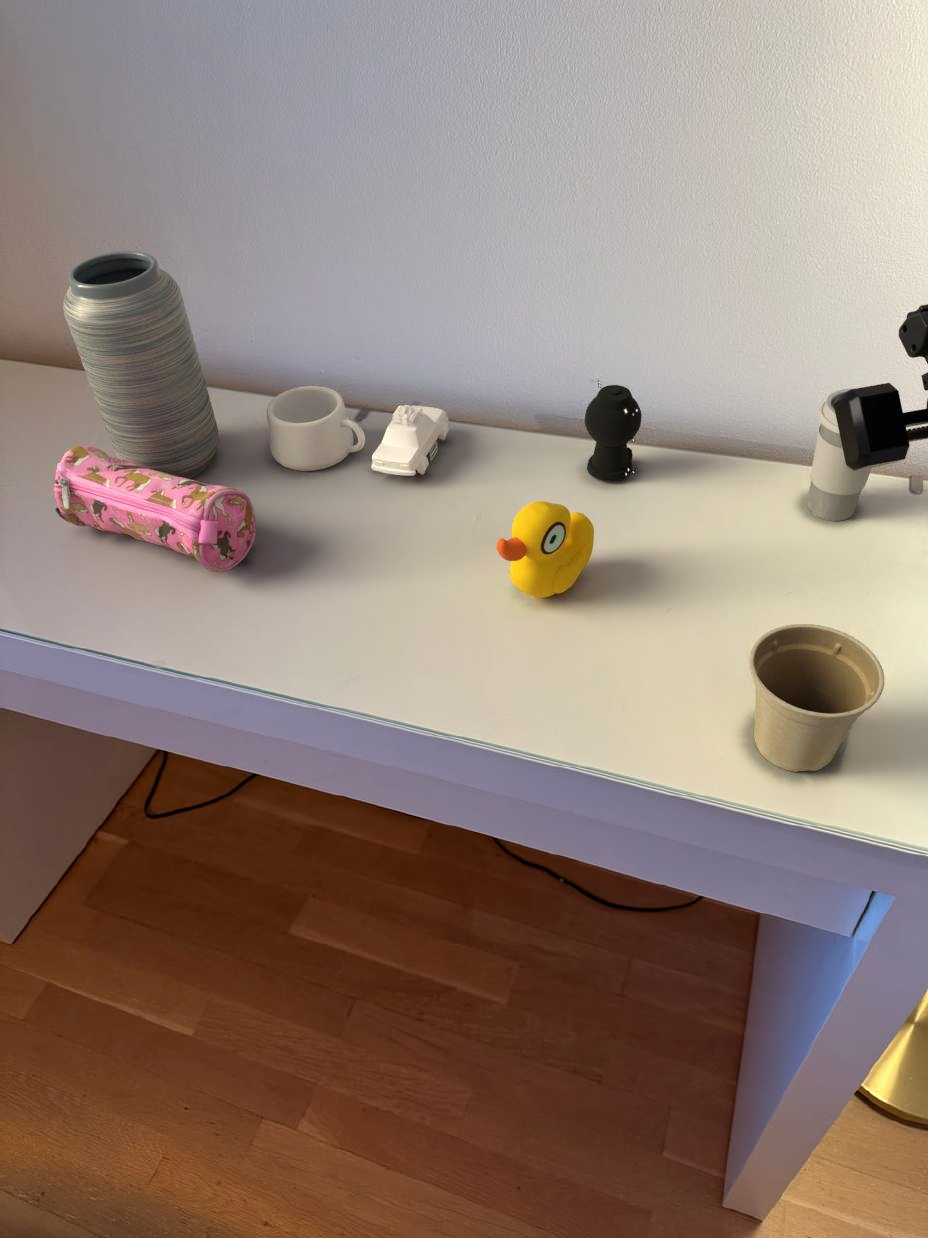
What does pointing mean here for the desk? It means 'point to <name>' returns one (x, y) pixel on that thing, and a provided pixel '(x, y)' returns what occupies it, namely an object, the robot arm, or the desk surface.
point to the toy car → (410, 440)
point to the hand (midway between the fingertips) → (892, 436)
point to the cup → (833, 470)
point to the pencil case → (155, 507)
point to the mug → (311, 429)
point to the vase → (142, 362)
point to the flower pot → (810, 692)
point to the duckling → (547, 548)
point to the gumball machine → (612, 432)
